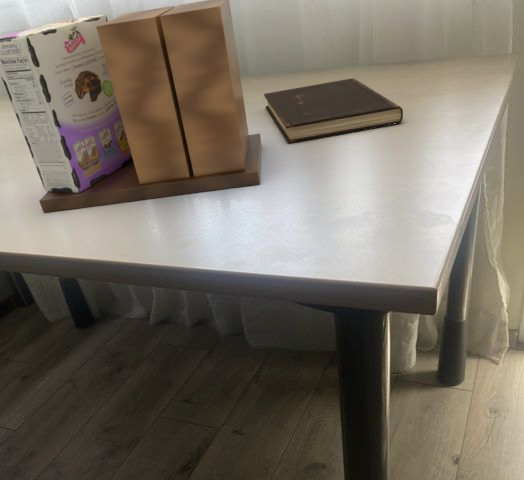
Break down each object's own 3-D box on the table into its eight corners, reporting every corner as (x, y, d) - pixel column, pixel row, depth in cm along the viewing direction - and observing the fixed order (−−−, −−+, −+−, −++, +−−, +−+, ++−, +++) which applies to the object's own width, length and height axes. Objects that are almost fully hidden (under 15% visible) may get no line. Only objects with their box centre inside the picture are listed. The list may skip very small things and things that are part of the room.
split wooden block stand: (43, 212, 63) (-24, 46, 53) (81, 169, 76) (33, 28, 66) (260, 184, 61) (234, 4, 50) (261, 144, 74) (241, -6, 63)
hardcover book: (288, 143, 72) (286, 126, 71) (265, 108, 91) (264, 93, 89) (403, 123, 72) (403, 105, 71) (357, 92, 91) (357, 77, 90)
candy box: (111, 154, 74) (70, 17, 64) (145, 154, 72) (108, 12, 62) (43, 192, 64) (-17, 37, 55) (80, 193, 62) (24, 32, 52)
